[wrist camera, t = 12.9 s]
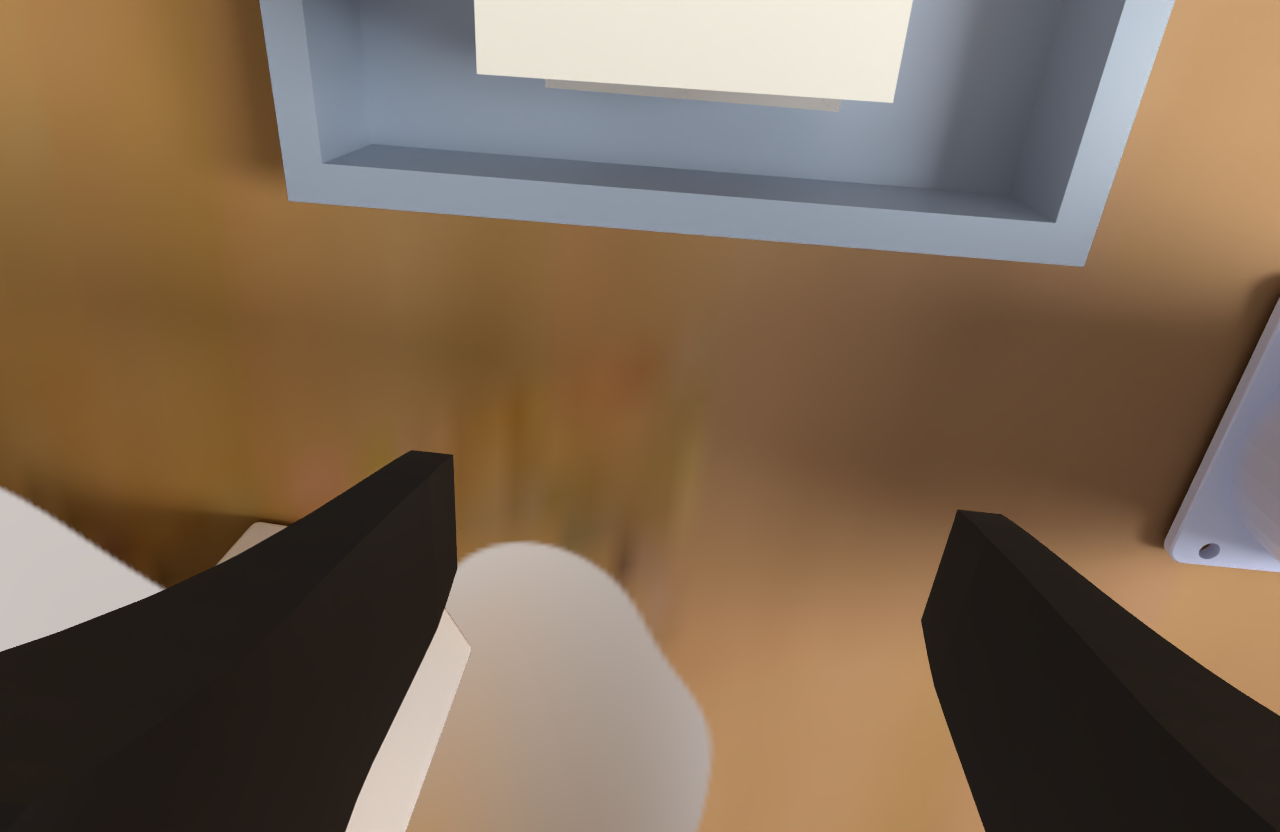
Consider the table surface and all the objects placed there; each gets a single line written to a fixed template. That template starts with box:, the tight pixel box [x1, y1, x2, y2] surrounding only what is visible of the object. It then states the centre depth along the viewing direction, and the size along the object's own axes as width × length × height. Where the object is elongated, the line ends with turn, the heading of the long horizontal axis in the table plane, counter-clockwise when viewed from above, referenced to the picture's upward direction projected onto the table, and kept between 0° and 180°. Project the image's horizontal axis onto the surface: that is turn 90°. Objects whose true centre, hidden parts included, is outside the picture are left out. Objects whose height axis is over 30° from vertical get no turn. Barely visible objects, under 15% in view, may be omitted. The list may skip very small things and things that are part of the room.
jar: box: [215, 522, 471, 832], centre depth 20 cm, size 9×8×12 cm
